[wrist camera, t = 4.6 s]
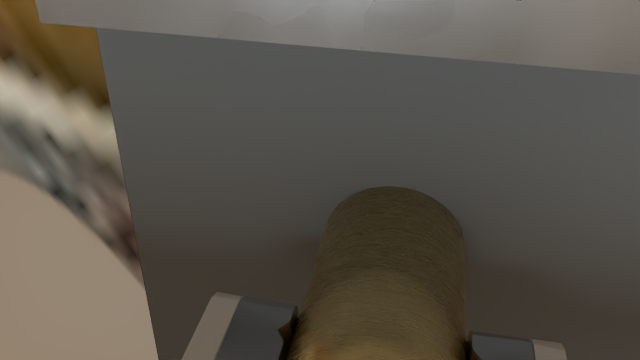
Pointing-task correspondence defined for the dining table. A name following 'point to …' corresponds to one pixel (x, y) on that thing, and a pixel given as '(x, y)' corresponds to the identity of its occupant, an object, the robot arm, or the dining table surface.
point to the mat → (379, 177)
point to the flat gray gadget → (392, 26)
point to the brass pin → (386, 282)
